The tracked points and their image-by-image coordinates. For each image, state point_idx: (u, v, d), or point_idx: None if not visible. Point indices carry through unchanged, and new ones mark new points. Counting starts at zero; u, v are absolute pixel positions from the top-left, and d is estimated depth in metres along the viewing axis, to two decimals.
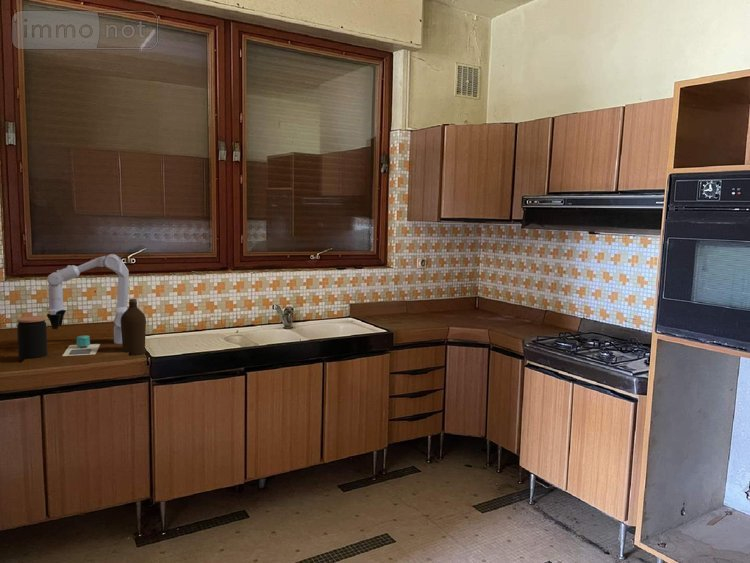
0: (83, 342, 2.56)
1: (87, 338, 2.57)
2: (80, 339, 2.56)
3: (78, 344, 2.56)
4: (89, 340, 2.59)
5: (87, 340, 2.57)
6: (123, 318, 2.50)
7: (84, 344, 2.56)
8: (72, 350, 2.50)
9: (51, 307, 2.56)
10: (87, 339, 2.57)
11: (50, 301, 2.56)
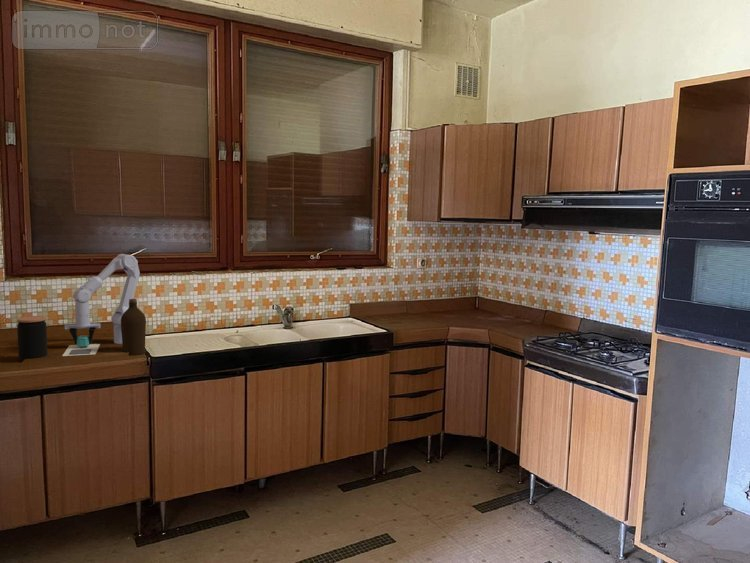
0: (83, 342, 2.56)
1: (87, 338, 2.57)
2: (80, 339, 2.56)
3: (78, 344, 2.56)
4: None
5: (87, 340, 2.57)
6: (123, 318, 2.50)
7: (84, 344, 2.56)
8: (72, 350, 2.50)
9: None
10: (87, 339, 2.57)
11: None
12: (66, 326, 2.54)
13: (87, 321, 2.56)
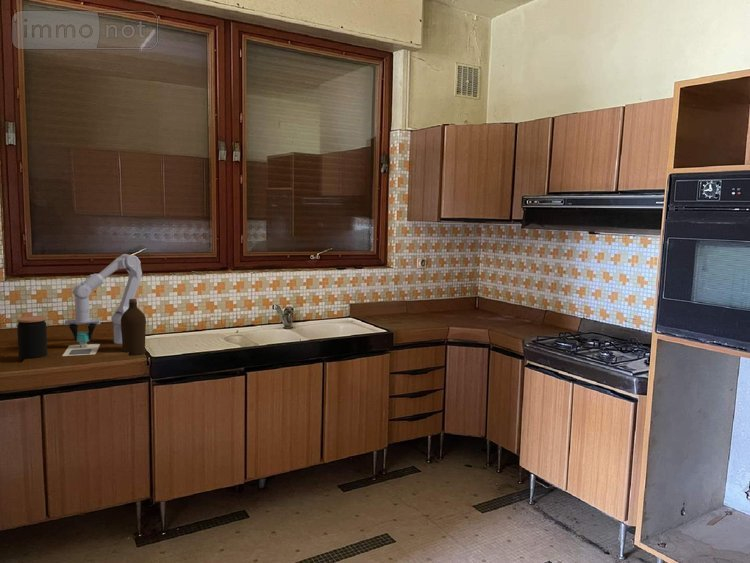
0: (83, 338, 2.56)
1: (86, 334, 2.57)
2: (79, 335, 2.55)
3: (78, 340, 2.56)
4: None
5: (86, 336, 2.57)
6: (123, 318, 2.50)
7: (83, 340, 2.56)
8: (72, 350, 2.50)
9: None
10: (86, 335, 2.57)
11: None
12: (66, 322, 2.55)
13: (86, 317, 2.56)
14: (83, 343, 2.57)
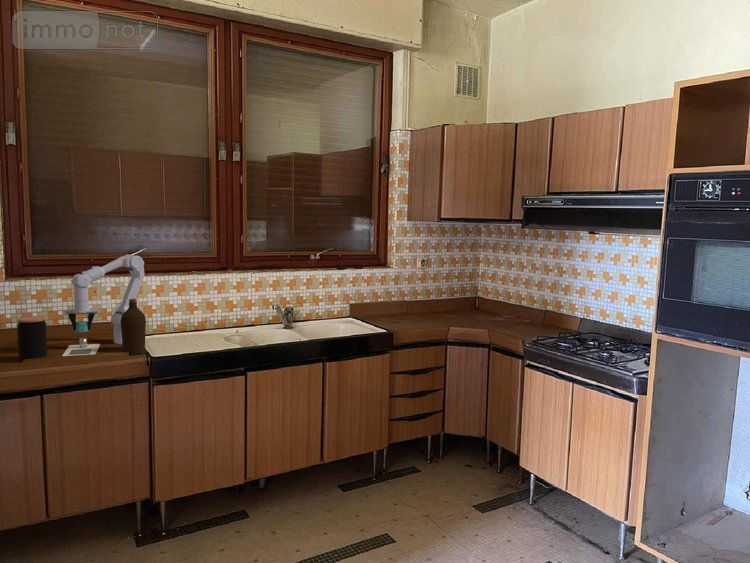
0: (82, 328, 2.54)
1: (86, 324, 2.55)
2: (79, 325, 2.53)
3: (77, 330, 2.54)
4: None
5: (86, 326, 2.55)
6: (123, 318, 2.50)
7: (83, 330, 2.54)
8: (72, 350, 2.50)
9: None
10: (86, 325, 2.55)
11: None
12: (65, 311, 2.52)
13: (86, 307, 2.54)
14: (83, 343, 2.57)
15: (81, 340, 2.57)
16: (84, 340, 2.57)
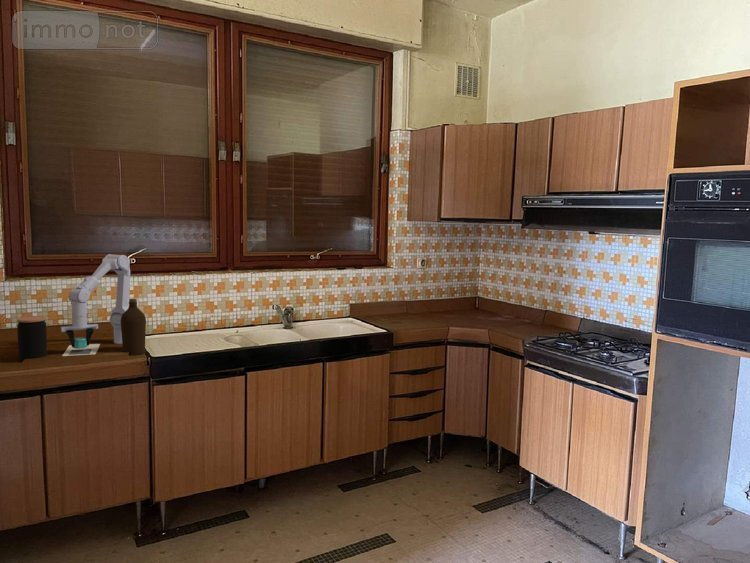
0: (82, 344, 2.47)
1: (85, 340, 2.49)
2: (79, 341, 2.46)
3: (76, 346, 2.47)
4: (86, 342, 2.50)
5: (85, 342, 2.49)
6: (123, 318, 2.50)
7: (83, 346, 2.48)
8: (72, 350, 2.50)
9: None
10: (85, 341, 2.49)
11: None
12: (63, 328, 2.43)
13: (85, 322, 2.48)
14: None
15: None
16: None
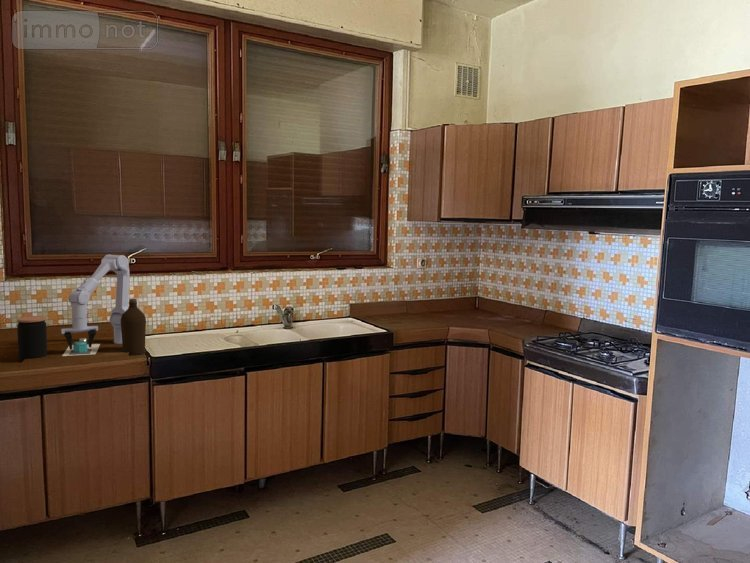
0: (82, 348, 2.48)
1: (86, 344, 2.49)
2: (79, 345, 2.47)
3: (76, 350, 2.47)
4: (86, 346, 2.51)
5: (86, 346, 2.49)
6: (123, 318, 2.50)
7: (83, 350, 2.48)
8: (72, 350, 2.50)
9: None
10: (86, 345, 2.49)
11: None
12: (63, 330, 2.43)
13: (86, 324, 2.48)
14: None
15: (81, 340, 2.57)
16: (84, 340, 2.57)
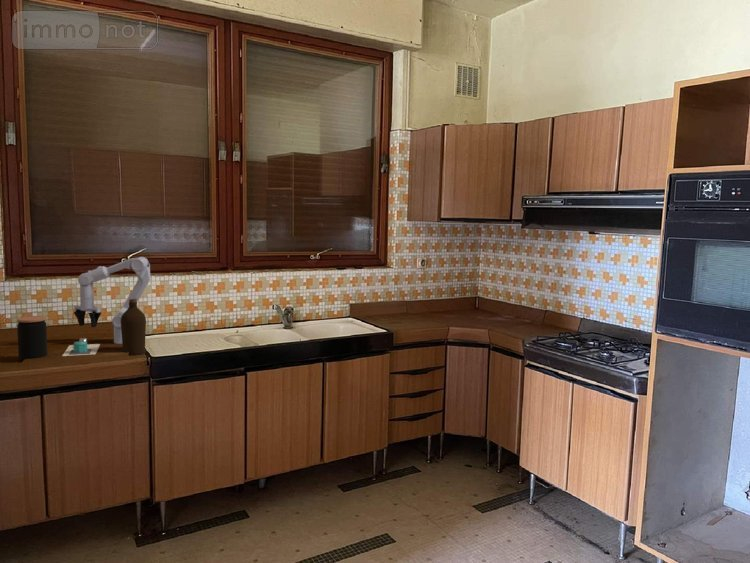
0: (82, 348, 2.48)
1: (86, 344, 2.49)
2: (79, 345, 2.47)
3: (76, 350, 2.47)
4: (86, 346, 2.51)
5: (86, 346, 2.49)
6: (123, 318, 2.50)
7: (83, 350, 2.48)
8: (72, 350, 2.50)
9: None
10: (86, 345, 2.49)
11: None
12: (75, 307, 2.68)
13: (87, 304, 2.64)
14: None
15: (81, 340, 2.57)
16: (84, 340, 2.57)
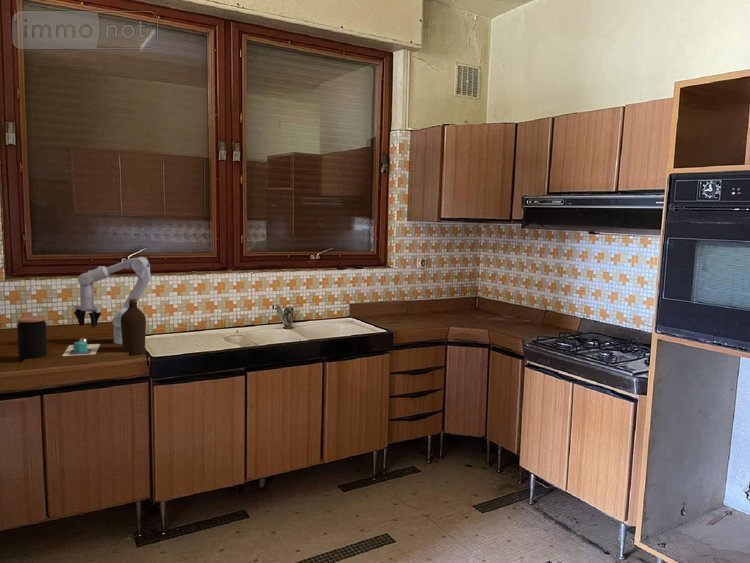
0: (82, 348, 2.48)
1: (86, 344, 2.49)
2: (79, 345, 2.47)
3: (76, 350, 2.47)
4: (86, 346, 2.51)
5: (86, 346, 2.49)
6: (123, 318, 2.50)
7: (83, 350, 2.48)
8: (72, 350, 2.50)
9: None
10: (86, 345, 2.49)
11: None
12: (75, 307, 2.68)
13: (87, 304, 2.64)
14: None
15: (81, 340, 2.57)
16: (84, 340, 2.57)
